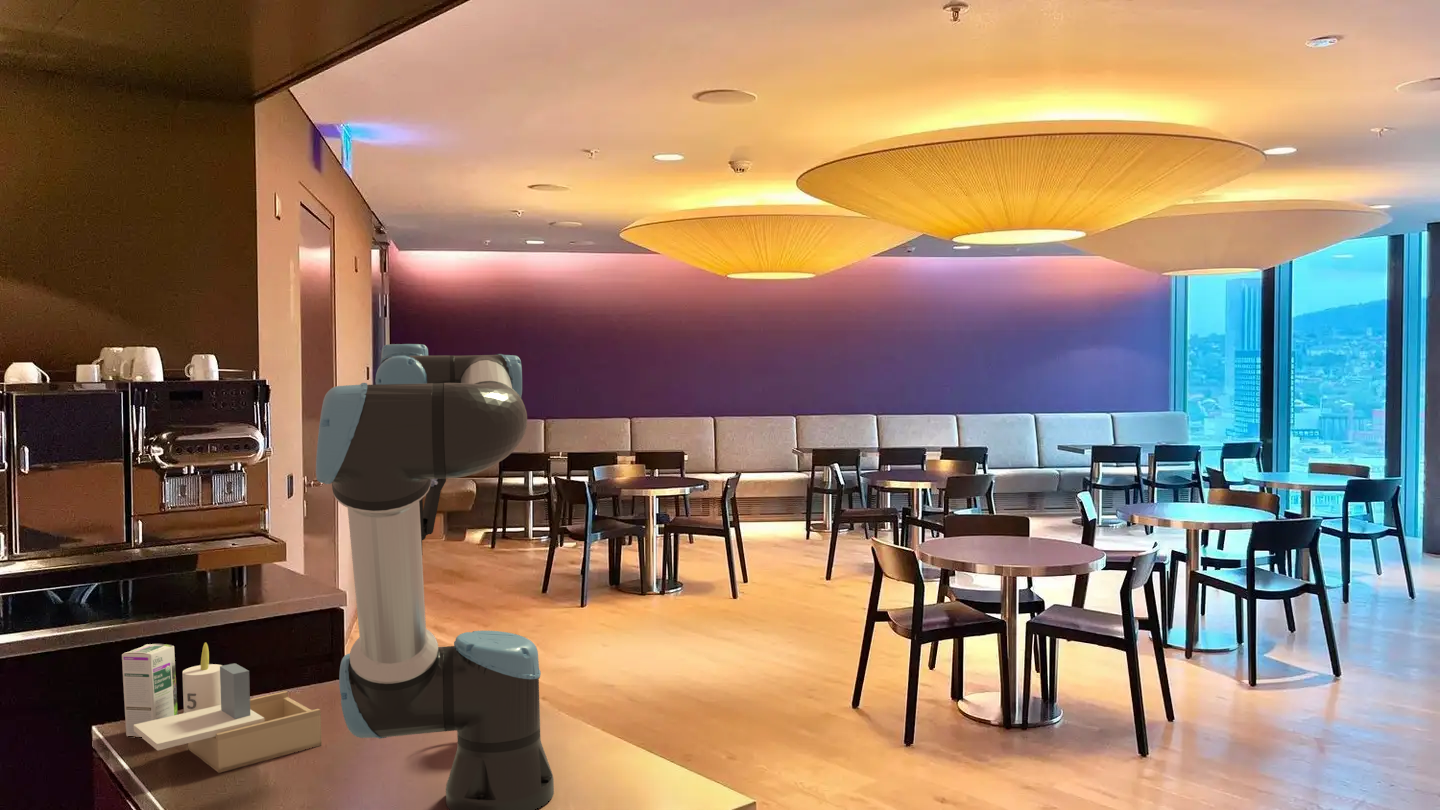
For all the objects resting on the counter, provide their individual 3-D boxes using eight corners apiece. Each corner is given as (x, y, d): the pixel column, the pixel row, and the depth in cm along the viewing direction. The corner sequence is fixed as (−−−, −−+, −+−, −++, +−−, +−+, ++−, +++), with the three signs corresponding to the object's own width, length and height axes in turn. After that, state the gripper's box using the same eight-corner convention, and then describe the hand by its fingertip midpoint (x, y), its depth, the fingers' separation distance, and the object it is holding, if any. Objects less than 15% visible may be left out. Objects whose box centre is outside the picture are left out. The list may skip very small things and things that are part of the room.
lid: (237, 707, 175) (235, 658, 175) (264, 724, 167) (263, 673, 167) (133, 731, 165) (131, 679, 164) (157, 750, 156) (155, 696, 156)
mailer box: (286, 724, 182) (285, 690, 182) (321, 745, 172) (320, 709, 172) (188, 749, 171) (186, 713, 171) (219, 773, 161) (217, 734, 161)
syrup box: (154, 739, 176) (151, 653, 175) (124, 737, 177) (121, 651, 177) (179, 727, 182) (176, 644, 181) (149, 725, 183) (146, 642, 182)
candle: (175, 736, 177) (172, 648, 177) (200, 723, 184) (197, 637, 183) (209, 738, 176) (206, 649, 176) (233, 724, 183) (230, 639, 182)
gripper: (431, 434, 181) (434, 570, 183) (359, 438, 172) (363, 581, 173) (454, 436, 176) (457, 576, 177) (380, 441, 167) (384, 588, 168)
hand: (410, 578), depth 175 cm, fingers closed
